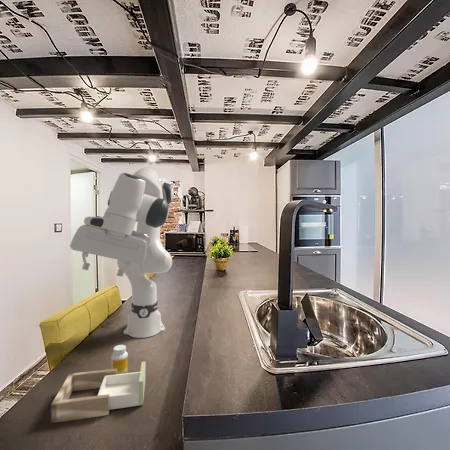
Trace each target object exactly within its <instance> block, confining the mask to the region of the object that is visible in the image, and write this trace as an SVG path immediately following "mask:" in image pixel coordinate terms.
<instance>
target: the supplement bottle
mask: <svg viewBox="0 0 450 450" xmlns="http://www.w3.org/2000/svg"><path fill="white" fill-rule="evenodd" d="M128 368H129V353H128V352H127V346H126V345H125V344H118V345H115V346H114V347H113V353H112V354H111V357H110V369H117V374H124V373H129V372H128V371H129V369H128Z"/></svg>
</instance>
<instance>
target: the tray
mask: <svg viewBox="0 0 450 450" xmlns="http://www.w3.org/2000/svg"><path fill="white" fill-rule="evenodd" d="M146 364H147V363H146V360H145V361H144V360H143V361H141V365H140V371H136V372H128V373H124V374H116V375H107V376H105V377H104V379H103V382H102V385H101V387H100V388H99V390H98V394H97V396H99V395H107V394H109V411H110V410H116V409H124V408H132V407H137V406H143V405H144V400H145V399H144V398H145V391H146V390H145V389H146V369H147V368H146Z"/></svg>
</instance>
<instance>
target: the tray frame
mask: <svg viewBox="0 0 450 450" xmlns="http://www.w3.org/2000/svg"><path fill="white" fill-rule="evenodd" d="M116 374H117V369H111V368H109V369H102V370H92V371H91V370H90V371H84V372H74V373H69V374H68V375H67V377H66V379H65V380H64V382H63V384H62V386H61V387H60V389H59V391H58V393H57V394H56V396H55V398H54V399H53V401H52V402H51V404H50V405H51V406H50V414H51V415H50V418H51V419H50V420H51V421H50V423H51V424H53V423H56V424H57V423H62V422H68V421H75V420H83V419H89V418H94V417H104V416H108V415H109V414H110V410H109V394H107V395H99V396H98V395H93V396H85V397H78V398H71V397H70V396H71V395H72V394H73V392H76V391H86V390H94V389H100V387H101V385H102V382H103V379H104V377H105V376H107V375H116Z"/></svg>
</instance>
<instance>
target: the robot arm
mask: <svg viewBox="0 0 450 450" xmlns="http://www.w3.org/2000/svg"><path fill="white" fill-rule="evenodd" d="M174 195H175V192H174V188H173V185H172V184H171V183H169V182H161V181H160V177H159V174H158V172H157V170H155V169H153V168H152V167H143V168H140V169H137V171H135V172H134V173H133V174H131V173H127V172H122V173H120V174H119V176H118V178H117V180H116V182H115V184H114V186H113V188H112V191H111V192H110V194H109V198H108V200H107V208H106V210H105V212H104V215H103V216H99V215H95V216H86V217H84V220H83V223H84V224H82V225H80V226H79V227H78V228H77V229H76V230H75V233H74V235H73V238H72V240H71V242H70V245H69V247H70V249H71V250H72V251H76V252H80V253H81V252H82V253H81V257H82V260H83V261H82V262H83V264H82V266H81V267H82V268H81V269H82V270H85V271H89V268H90V266H91V264H90V262H87V259H86V258H88V257H89V254H91V255H95V256H100V257H104V258H108V259H114V260H116V265H117V268H118V269H117V273H116V276H117V277H124V274H125V276H126V277H127V279H128V280H129V283H130V285H131V286H130V287H131V293H132V294H131V295H132V297H131V298H132V302H131V305H130V307H131V308H130V309H131V312H130V313H129V314H128V315H127V326H126V328H125V329H124V330H123V335H128V336H130V337H132V338H138V339H141V338H142V339H143V338H150V337H153V336H156V335H157V334H159V333H161V332H165V330H166V327H165V325H164V324H163V322H162V319H161V317H162V316H161V312H160V311H159V310H158V307H159V302H158V297H157V296H158V291H157V289H158V288H157V284H156V283H155V282H154V281H153V280H151V279H150V278H148V276H147V274H158V275H159V274H163V273H164V274H165V273H168V272H169V271H170V270H171V268H172V266H173V257H172V255H171V254H170V252H168V251H167V250H166V249H165V247H164V245H163V244H162V240H161V228H162V226H163V225H164V224H165V223H166V222H167V220H168V218H169V213H170V207H169V205H170V204H171V202H172V200H173V199H174ZM136 222H137V225H136ZM135 226H136V230H134V228H135Z"/></svg>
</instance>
